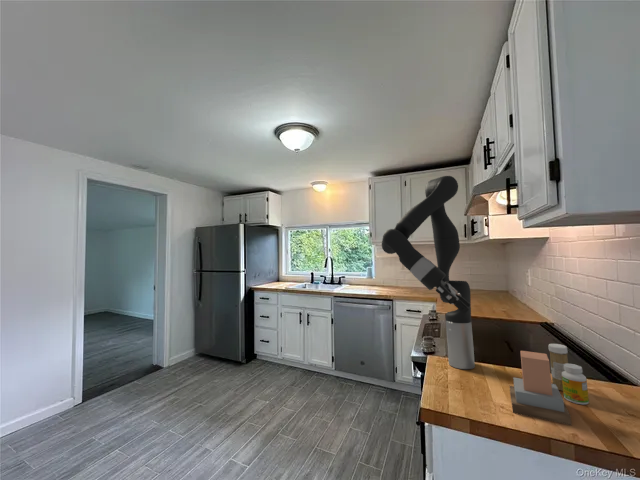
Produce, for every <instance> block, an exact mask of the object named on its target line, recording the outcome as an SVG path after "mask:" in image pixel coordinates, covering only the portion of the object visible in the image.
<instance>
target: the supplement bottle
mask: <svg viewBox="0 0 640 480" xmlns="http://www.w3.org/2000/svg"><path fill="white" fill-rule="evenodd" d="M564 370H565V371H563V372H562V383H563V391H562V392H563V399H565V400H566V401H568V402H570V403H573V404H577V405H584V406H585V405H588V404H590V399H589V390H588V381H587V377H586V376H585V375H584V374H583V373H584V371H583V367H582V366H581V365H579V364H578V365H577V364H574V363H568V364H564Z"/></svg>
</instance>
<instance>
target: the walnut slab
mask: <svg viewBox="0 0 640 480" xmlns="http://www.w3.org/2000/svg"><path fill="white" fill-rule="evenodd" d="M509 395H510V402H511V408H512V413H513V414H516V413H518V414H517V415H521V414H522V415H521V416H527V417H530V418H534V419H535V418H537V419H539V420H540V419H541V420H545V421H549V422H553V423H559V424H564V425H567V426H572V415H571V414H570V412H569V410H568V408H567V406H566V404H565V402H564V411H565V412H560V411H556V410H551V409H546V408H541V407H536V406H531V405H526V404H522V403H517V402H516V396H515V389H514V385H509Z"/></svg>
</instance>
